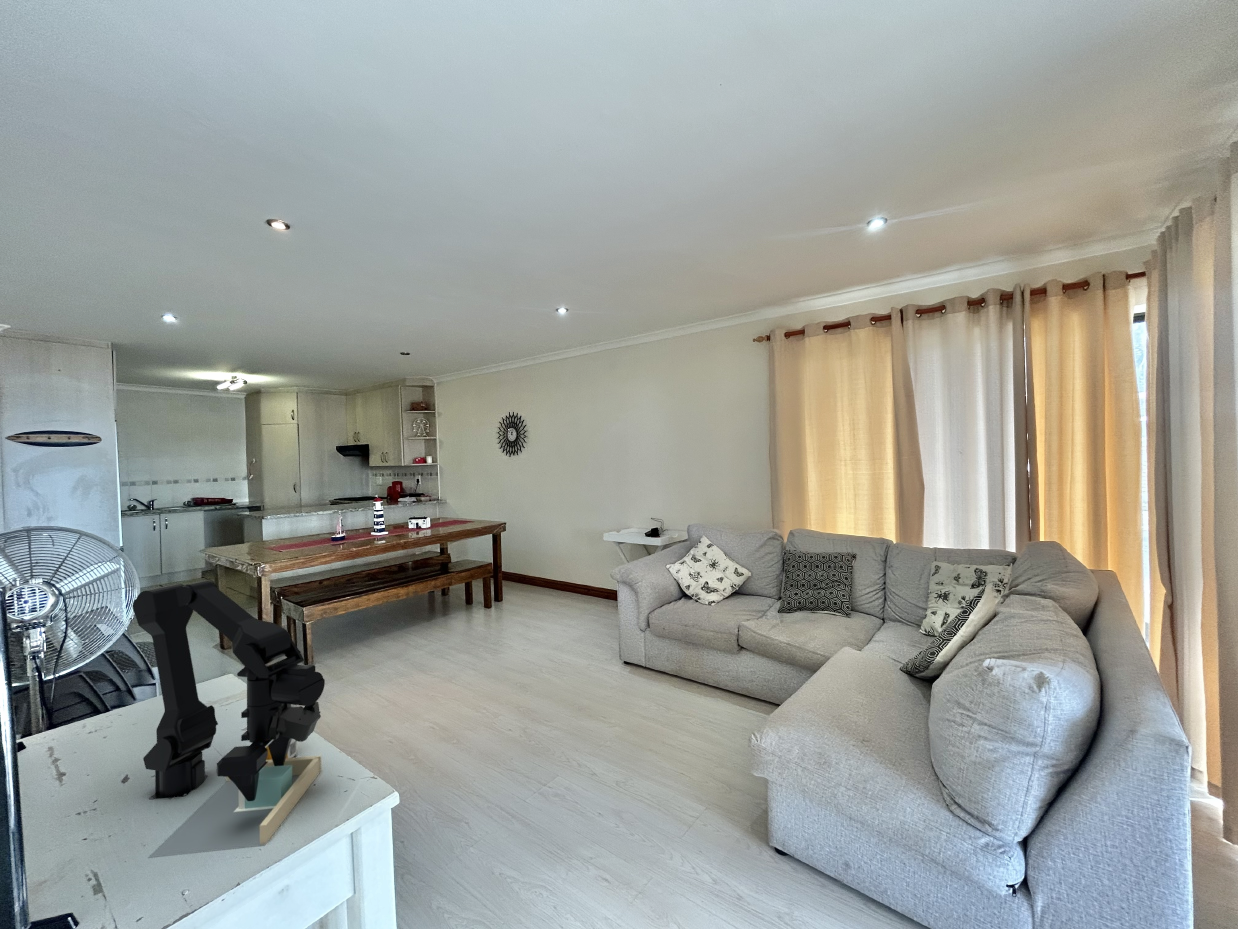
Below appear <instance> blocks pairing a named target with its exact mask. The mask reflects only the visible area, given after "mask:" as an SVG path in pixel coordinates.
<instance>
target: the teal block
mask: <svg viewBox="0 0 1238 929" xmlns="http://www.w3.org/2000/svg"><path fill="white" fill-rule="evenodd" d="M291 786H292V765H285V766H273V767H263V768H262V769H261V770H260V772H259V779H258V787H257V793H256V798H255V800H254V801H247V800H246V798H245V797H244V796H243V794H242V793H241V792H240V790H239V809H247V808H258V807H269V806H276V805H277V804H278V802H279V801H280V800H281V799H282V797H283V796H284V795H285V794H286V792H287V791H288V790H289V789H290V787H291Z"/></svg>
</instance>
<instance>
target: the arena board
mask: <svg viewBox="0 0 1238 929" xmlns="http://www.w3.org/2000/svg"><path fill="white" fill-rule="evenodd" d="M266 761H268V763H267V764H266V765H265V766H264V767H273V766H274V764H273V761H272V760H266ZM285 765H292V786H291V787H290V789H289V790H288V791H287V792H286V794H285V795H284V796H283V797H282V799H281V800H280V801H279V802H278V804H277V805H276V806H269V807H258V808H247V809H239V789H238V788H237V786H236V785H235V784H234V783H233V782H232V781H231V780H230V779H229V778H228V777H225V778H226V779H225V780H226V781H225V782H224V783H222V785H221V786H220V787H219V788H218V789H217V790H216V791H215V792H214V793H213V794H211V796H209V797H208V799H206V801H205V802H203V804H202V805H200V806H199V807H198V808H197V809H196V810H195V811H194V812H193V813H192V814H191V815H190V816H189V817H188V818H187V819H186V820H185V821H184V822H183V823H182V824H181V825H180V826H178V828H176V830H175V831H174V832H172V833H171V835H169V837H167V838H166V839H165V840H164V841H163V842H162V843H161V844H160V845H159V846H158V847H157V848H156V849H155V850H154V851H153V852H152V853H151V854H149V856H148V857H147V859H153V858H162V857H163V858H164V857H170V856H171V857H172V856H178V855H179V856H180V855H190V854H199V853H200V854H201V853H209V852H211V853H212V852H218V851H227V850H238V849H247V848H249V849H250V848H255V847H256V848H257V847H265V846H266V844H267V843H268V842H269V841H270V839H271V838H272V837H273V836H274V834H275V833H276V832H277V830H278V829H279V827H280V826H281V825H282V824H283V822H284V821H285V819H286V818H287V817H288V816H289V814H290V813H291V811H292V810H293V809H294V807H295V806H296V805H297V804H298V803H299V801H300V800H301V798H302V797H303V795H304V794H305V793H306V792H307V790H308V789H309V787H311V785H312V784H313V782H314V781H315V780H316V778H317V777H318V775H319V774H320V773H321V772H322V755H312V756H299V757H298V756H297V757H293V758H286V759H285V763H284V766H285Z"/></svg>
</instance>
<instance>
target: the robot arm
mask: <svg viewBox="0 0 1238 929" xmlns="http://www.w3.org/2000/svg"><path fill="white" fill-rule="evenodd" d="M132 611H133V613H134V616H135V618H136V621H137V622H136V623H137V624H138V627H140V628H141V629H143V631H145V632H146V633H147V634H148V635H150V636H151V639H152V644H153V650H154V654H155V661H156V662H155V663H156V667H157V673H158V678H159V684H160V690H161V696H162V702H163V707H164V708H163V709H164V712H163V714H162V716H161V719H160V721H159V723H158V726H157V727H156V733H155V734H156V743H155V744H154V745H153V747H152V748H151V749H150V750H148V752H147V753H146V754H145V756H143V763H144V767H145V770H148V771H149V770H150V771H154V775H155V776H154V777H155V778H154V784H155V785H154V786H155V787H154V788H155V789H154V791H155V792H154V793H153V794H152V795H151V796H150V797H148V800H159V799H161V800H162V799H171V798H181V797H186V796H188V795H189V794H190V793H192V791H194V790H195V789H197V788H198V787H199V786H200V785H201V784H202V783H204V782H205V780H206V779H207V778H208V777H209V775H205V774H206V770H205V769H206V767H205V766H206V763H205V762H206V761H205V760H204V759H203V751H205V750H207V749H209V748H211V746H212V743H213V740H214V738H215V737H214V736H215V735H216V734H217V726H218V725H219V723H218V721H217V719H216V718H217V717H216V710H215V709H216V708H215V706H213V705H208V706H207V705H206V704H205V703H204V702H202V701H201V700H200V699H199V696H198V695H199V694H198V689H197V683H196V677H195V671H194V665H193V659H192V654H191V649H190V643H189V638H188V637H189V636H188V632H187V626H188V624H189V622H190V620H191V618H192V615H193V614H194V612H195V613H197V615H199V616H200V618H202V619H204V620H205V621H206V622H207V623H209V624H210V625H212V627H213V628H215V629H216V630H217V631H219V632H220V633H221V634H222V635H223V636H224V637H226V638H227V639H229V641H230V642H231V645H232V646H231V649H232V654H234V655H235V657H236V658H237V659H238V661H240V663H241V664H242V665H243V666H244V667H242V669H240V670H239V671H238V672H237V673H236V676H237V677H241V678H246V708H245V709H244V710H242V711H241V712H240V713H241V714H240V716H241V719H246V731H245V732H243V733H242V734H241V735H240V741H241V742H246V741H248V742H249V743H250V744H249V745H242V746H241V745H239V746H234V747H232V748H231V750H229V752H227V753H226V754H225V755H224V756H222V758H221V759H219V760H218V761H217V762H216V776H217V777H223V778H224V777H225V778H226V777H228V778H229V779H230V780H231V781H232V782H233V783H234V784H235V785H236V786H237V788H238V789H239V790H240V792H241V793H242V794H243V796H244V797H245V798H246V800H247V801H254V800H255V798H256V793H257V787H258V779H259V772H260V770H261V769H262V768H263V767H264V766H265V765H266V764H267V763H268V761H266V759H267V756H268V749H267V748H266V747H267V746H268V747H269V751H270V754H271V757H272V761H273V764H274V766H284V763H285V759H286V756H287V753H288V749H289V746H290V743H291V740H292V739H295V741H297V742H299V743H300V742H301V743H302V742H305V741H306V740H307V739H308V738H309V736H311V735H312V734H313V732H314V731H315V728H316V725H317V723H318V721H319V720H320V719H321V717H322V716H321V711H320V704H319V702H318V700H319V699H320V698H321V696H322V694H323V692H324V688H325V684H326V681H325V678H324V676H323V674H322V673H321V672H319V671H316V665H315V664H306V665H305V664H302V663H303V662H305V659H304V657H303V655H302V654H301V651H300V650H299V648H298V647H297V645H296V644H295V642H294V641H293V638H292V636H291V634H290V633H289V631H288V630H287V629H286V628H284V627H282V626H280V625H278V624H276V623H274V622H272V621H271V622H270V621H267V620H260V619H258V618H256V617H254V616H253V615H252V614H250V613H249V612H247V610H245V609H244V608H243V607H242V606H240V605H239V604H238V603H236V602H235V601H234V600H233V599H232V598H230V597H229V596H227V595H226V594H225V593H224V592H223V591H222V590H220V589H219V588H218V587H217V584H216V582H215V581H213V580H200V581H196V582H190V583H186V584H183V583H175V584H174V583H173V584H170V585H166V586H160V587H155V588H150V589H146V590H143V591H141V592H140V593H138V595H137V597H136V599H134V600H133V603H132ZM284 657H286V658H284ZM282 658H283V659H282ZM279 659H281V660H279ZM277 660H278V661H277ZM274 661H276V662H274ZM273 662H274V663H273ZM270 663H272V664H270ZM291 704H292V705H297V707H291Z"/></svg>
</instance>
